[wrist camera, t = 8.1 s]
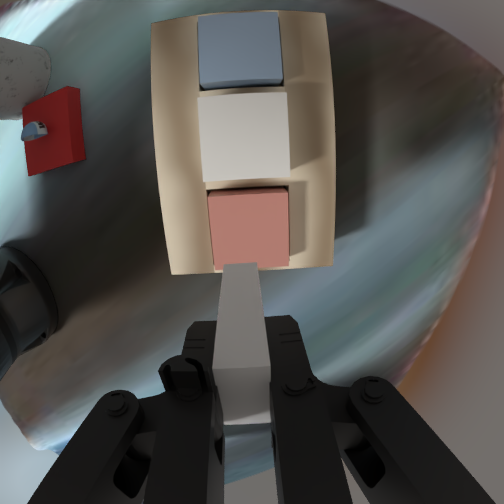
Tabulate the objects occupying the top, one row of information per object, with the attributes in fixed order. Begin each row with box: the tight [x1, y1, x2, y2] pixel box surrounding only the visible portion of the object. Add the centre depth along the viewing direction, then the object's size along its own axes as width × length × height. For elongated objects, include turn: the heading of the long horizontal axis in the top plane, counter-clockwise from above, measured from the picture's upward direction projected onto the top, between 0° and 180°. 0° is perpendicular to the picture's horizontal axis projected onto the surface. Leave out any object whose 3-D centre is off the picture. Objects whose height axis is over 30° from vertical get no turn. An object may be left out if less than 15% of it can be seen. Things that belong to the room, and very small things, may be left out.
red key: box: [208, 186, 289, 270], centre depth 23 cm, size 6×6×3 cm
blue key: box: [198, 12, 283, 91], centre depth 18 cm, size 6×6×3 cm
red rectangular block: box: [21, 86, 86, 176], centre depth 21 cm, size 8×7×6 cm
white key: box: [197, 92, 290, 182], centre depth 19 cm, size 6×6×3 cm
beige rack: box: [151, 10, 336, 275], centre depth 23 cm, size 14×22×5 cm, turn 3°
